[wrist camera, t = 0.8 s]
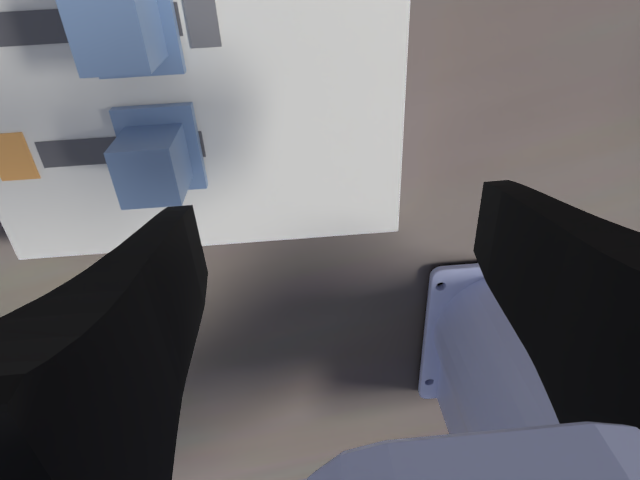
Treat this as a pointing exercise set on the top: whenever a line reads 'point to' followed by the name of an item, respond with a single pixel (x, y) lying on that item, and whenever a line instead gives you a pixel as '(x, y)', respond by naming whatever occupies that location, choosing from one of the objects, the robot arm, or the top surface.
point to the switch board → (212, 124)
